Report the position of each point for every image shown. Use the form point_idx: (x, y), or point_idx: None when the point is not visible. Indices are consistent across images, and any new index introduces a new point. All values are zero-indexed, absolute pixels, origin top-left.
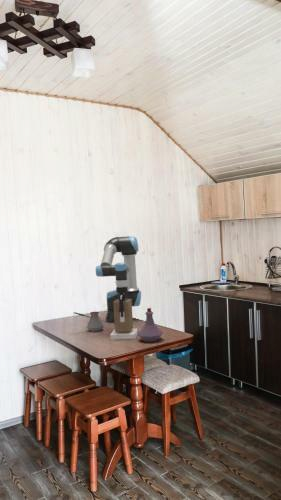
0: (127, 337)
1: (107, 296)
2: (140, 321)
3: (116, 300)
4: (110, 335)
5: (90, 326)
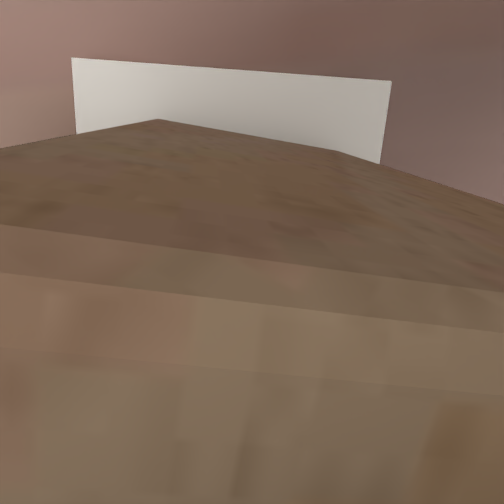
0: None
1: None
2: None
3: (343, 473)
4: (74, 60)
5: None
